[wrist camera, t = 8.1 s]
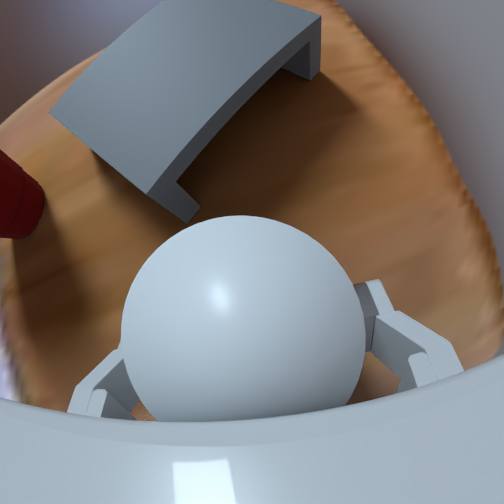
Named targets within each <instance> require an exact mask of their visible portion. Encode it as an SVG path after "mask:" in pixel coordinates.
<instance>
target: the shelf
mask: <svg viewBox="0 0 504 504" xmlns="http://www.w3.org/2000/svg"><path fill="white" fill-rule="evenodd" d="M320 57H321V15H318V14H315V13H313V12H310V11H307V10H304V9H301V8H298V7H294V6H291V5H288V4H285V3H281V2H278V1H274V0H164V1H162V2H161V3H160V4H158V5H157V6H156V7H154V8H153V9H152V10H150V11H149V12H148V13H147V14H145V15H144V16H143V17H142V18H140V19H139V20H138V21H137V22H135V23H134V24H133V25H132V26H131V27H129V28H128V29H127V30H126V31H125V32H124V33H123V34H121V35H120V36H119V37H118V38H117V39H116V40H115V41H114V42H113V43H112V44H110V45H109V46H108V47H107V48H106V49H105V50H104V51H103V52H102V53H101V54H100V55H99V56H98V57H97V58H96V59H95V60H94V61H93V62H92V63H91V64H90V65H89V66H88V67H87V68H86V69H85V70H84V71H83V72H82V74H81V75H80V76H79V77H78V78H77V79H76V80H75V81H74V82H73V83H72V85H71V86H70V87H69V88H68V89H67V90H66V92H65V93H64V94H63V95H62V96H61V98H60V99H59V100H58V101H57V102H56V104H55V105H54V106H53V107H52V109H51V110H50V111H49V112H48V113H50V114H51V115H52V116H53V117H54V118H55V119H57V120H58V121H59V122H60V123H61V124H62V125H64V126H65V127H66V128H67V129H68V130H69V131H71V132H72V133H73V134H74V135H75V136H76V137H78V138H79V139H80V140H81V141H82V142H84V143H85V144H86V145H87V146H88V147H89V148H91V149H92V150H93V151H94V152H95V153H97V154H98V155H99V156H100V157H101V158H103V159H104V160H105V161H106V162H107V163H109V164H110V165H111V166H112V167H113V168H115V169H116V170H117V171H118V172H119V173H121V174H122V175H123V176H124V177H125V178H127V179H128V180H129V181H130V182H132V183H133V184H134V185H135V186H136V187H138V188H139V189H140V190H141V191H142V192H144V193H145V194H146V195H148V196H149V197H150V198H152V199H153V200H154V201H156V202H157V203H158V204H160V205H161V206H163V207H164V208H165V209H167V210H168V211H169V212H171V213H172V214H174V215H175V216H176V217H178V218H179V219H180V220H182V221H183V222H185V223H186V224H188V223H189V221H190V220H191V219H192V217H193V216H194V215H195V214H196V212H197V211H198V210H199V209H200V207H201V206H200V205H199V204H198V203H197V202H196V201H195V200H194V199H193V198H192V197H191V196H190V195H189V194H188V193H187V192H186V191H185V190H184V189H183V188H182V187H181V186H180V185H179V184H178V183H177V182H176V181H177V180H178V178H179V177H180V176H181V175H182V173H183V172H184V171H185V170H186V169H187V167H188V166H189V165H190V164H191V163H192V161H193V160H194V159H195V158H196V157H197V156H198V154H199V153H200V152H201V151H202V150H203V149H204V147H205V146H206V145H207V144H208V143H209V142H210V141H211V139H212V138H213V137H214V136H215V135H216V134H217V133H218V132H219V130H220V129H221V128H222V127H223V126H224V125H225V124H226V123H227V122H228V121H229V119H230V118H231V117H232V116H233V115H234V114H235V113H236V112H237V111H238V110H239V109H240V108H241V107H242V106H243V105H244V104H245V102H246V101H247V100H248V99H249V98H250V97H251V96H252V95H253V94H254V93H255V92H256V91H257V90H258V89H259V88H260V87H261V86H262V85H263V84H264V83H265V82H266V81H267V80H268V79H269V78H270V77H271V76H272V75H273V74H274V73H275V72H276V71H277V70H279V69H280V68H283V69H285V70H288V71H290V72H292V73H294V74H296V75H299V76H301V77H303V78H305V79H307V80H309V81H311V80H312V79H313V78H314V77H315V76H316V74H317V73H318V72H319V71H320Z"/></svg>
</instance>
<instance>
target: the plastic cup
mask: <svg viewBox="0 0 504 504" xmlns="http://www.w3.org/2000/svg"><path fill="white" fill-rule="evenodd" d="M43 205H44V193H43V190H42V187H41V186H40V185H39V184H38V182H37V181H36V180H34V179H33V178H32V177H31V176H30V175H28V174H27V173H26V172H25V171H23V169H22V167H20V166H19V165H18V164H17V163H16V162H14V161H13V160H12V159H11V158H10V157H8V156H7V155H6V154H5V153H4V152H3V151H2V150H0V238H14V239H19V238H24V237H26V236H28V235H29V234H30V233H31V232H32V231H33V229H34V228H35V227H36V225H37V223H38V221H39V219H40V217H41V213H42V209H43Z"/></svg>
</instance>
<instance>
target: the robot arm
mask: <svg viewBox="0 0 504 504" xmlns="http://www.w3.org/2000/svg"><path fill="white" fill-rule="evenodd" d="M353 287H354V289H355V291H356V294H357V296H358V298H359V301H360V305H361V309H362V312H363V316H364V324H365V332H366V339H365V352H368V351H371V353H372V354H374V355H375V356H376V357H377V358H378V359H379V360H380V361H381V362H383V363H384V364H385V365H386V366H387V367H388V368H389V369H390V370H391V371H393V372H394V373H395V374H396V375H397V376H398V377H399V378H400V379H401V381H400V384H399V386H398V389H397V392H396V394H393V395H389V396H385V397H381V398H377V399H373V400H369V401H365V402H361V403H356V404H352V405H347V406H342V407H337V408H332V409H326V410H320V411H314V412H308V413H302V414H295V415H287V416H279V417H270V418H260V419H249V420H235V421H216V422H156V421H138V420H137V419H136V418H135V417H133V416H132V415H131V414H130V412H131V411H132V410H133V408H134V407H135V406H136V404H137V403H138V402H139V400H140V399H139V397H138V395H137V393H136V391H135V390H134V388H133V386H132V383H131V381H130V378H129V376H128V373H127V370H126V366H125V363H124V359H123V352H122V345H121V340H120V343H119V346H118V349H117V350H113V351H112V352H111V353H110V354H109V355H108V356H107V357H106V358H105V359H104V360H103V361H102V362H101V363H100V364H99V365H98V366H97V367H96V368H94V369H93V370H92V371H91V372H90V373H89V374H88V375H87V376H86V377H85V378H84V379H83V380H82V381H81V382H80V383H79V384H78V385H77V386H76V387H75V390H74V393H73V396H72V399H71V402H70V405H69V407H68V410H67V412H61V411H56V410H51V409H46V408H41V407H36V406H32V405H27V404H23V403H19V402H15V401H11V400H7V399H4V398H1V397H0V504H504V354H502V355H500V356H498V357H496V358H494V359H491V360H489V361H487V362H484V363H482V364H480V365H477V366H475V367H473V368H470V369H468V370H465V371H464V370H463V368H462V365H461V363H460V361H459V359H458V357H457V355H456V353H455V351H454V349H453V347H452V345H451V343H450V342H449V341H447V340H446V339H444V338H443V337H441V336H439V335H438V334H436V333H435V332H433V331H431V330H430V329H428V328H427V327H425V326H423V325H422V324H420V323H418V322H417V321H415V320H414V319H412V318H410V317H409V316H407V315H405V314H404V313H402V312H400V311H395V310H394V308H393V306H392V304H391V302H390V299H389V297H388V295H387V293H386V291H385V289H384V287H383V285H382V283H381V281H380V280H379V279H376V280H372V281H367V282H365V283H364V282H363V283H358V284H353Z"/></svg>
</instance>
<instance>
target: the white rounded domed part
mask: <svg viewBox="0 0 504 504" xmlns="http://www.w3.org/2000/svg"><path fill="white" fill-rule="evenodd" d="M365 339H366V332H365V324H364V316H363V312H362V309H361V305H360V301H359V298H358V296H357V294H356V291H355V289H354V287H353V284H352V282H351V281H350V279H349V277H348V276H347V274H346V273H345V271H344V269H343V268H342V267H341V265H340V264H339V263H338V262H337V261H336V259H335V258H334V257H333V256H332V255H331V254H330V253H329V252H328V251H327V250H326V249H325V248H324V247H323V246H322V245H321V244H319V243H318V242H317V241H315V240H314V239H312V238H311V237H310V236H308V235H307V234H305V233H303V232H301V231H299V230H298V229H296V228H294V227H292V226H289V225H287V224H284V223H281V222H278V221H276V220H271V219H267V218H262V217H255V216H244V215H242V216H225V217H219V218H214V219H210V220H206V221H203V222H200V223H197V224H195V225H192V226H190V227H188V228H186V229H184V230H182V231H180V232H179V233H177V234H176V235H174V236H172V237H171V238H169V239H168V240H167V241H166V242H164V243H163V244H162V245H161V246H160V247H159V248H157V249H156V251H155V252H154V253H153V254H152V255H151V256H150V257H149V258H148V259H147V261H146V262H145V263H144V265H143V266H142V268H141V269H140V270H139V272H138V274H137V276H136V277H135V279H134V281H133V283H132V285H131V288H130V290H129V293H128V295H127V298H126V302H125V306H124V310H123V315H122V324H121V345H122V352H123V359H124V363H125V366H126V370H127V373H128V376H129V378H130V381H131V383H132V386H133V388H134V390H135V391H136V393H137V395H138V397H139V399H140V400H141V402H142V403H143V404H144V406H145V407H146V409H147V410H148V411H149V412H150V414H151V415H152V416H153V417H154V418H155V419H156V420H157V421H158V422H216V421H235V420H249V419H260V418H270V417H279V416H287V415H295V414H302V413H308V412H314V411H320V410H326V409H332V408H337V407H342V406H345V405H346V403H347V402H348V400H349V399H350V397H351V395H352V393H353V391H354V389H355V387H356V385H357V383H358V380H359V377H360V373H361V370H362V367H363V361H364V355H365Z"/></svg>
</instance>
